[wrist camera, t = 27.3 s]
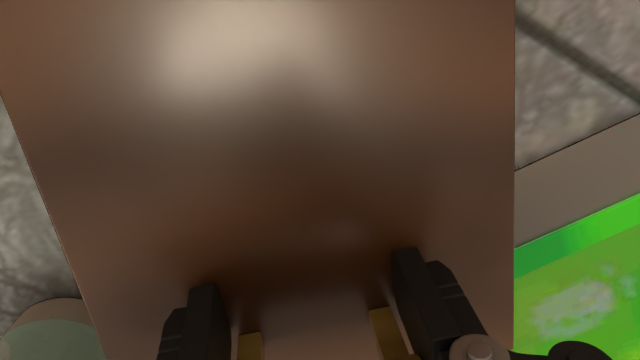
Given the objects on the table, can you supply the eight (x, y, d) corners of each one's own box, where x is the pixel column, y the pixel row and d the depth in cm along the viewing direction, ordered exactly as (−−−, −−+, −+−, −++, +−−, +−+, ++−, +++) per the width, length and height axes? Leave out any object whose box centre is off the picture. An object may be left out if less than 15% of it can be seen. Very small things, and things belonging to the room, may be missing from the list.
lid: (504, 334, 17) (588, 458, 13) (138, 407, 17) (93, 563, 12) (500, -261, 11) (666, -428, 6) (-90, -178, 10) (-356, -300, 6)
